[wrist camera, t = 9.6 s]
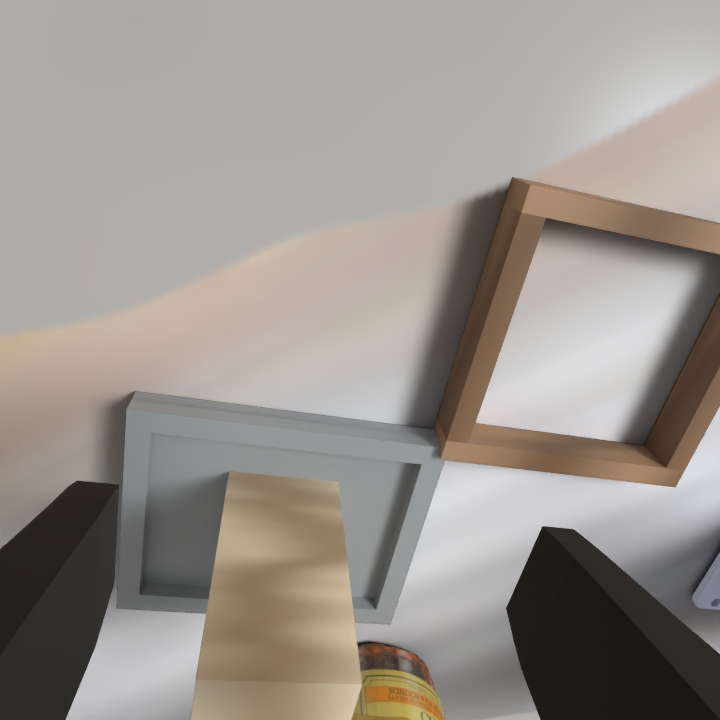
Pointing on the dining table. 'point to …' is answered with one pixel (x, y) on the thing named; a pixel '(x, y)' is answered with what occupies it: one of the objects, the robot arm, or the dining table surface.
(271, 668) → the peg
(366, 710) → the sauce bottle
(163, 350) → the dining table surface
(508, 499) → the dining table surface
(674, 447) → the holder
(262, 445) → the tray
